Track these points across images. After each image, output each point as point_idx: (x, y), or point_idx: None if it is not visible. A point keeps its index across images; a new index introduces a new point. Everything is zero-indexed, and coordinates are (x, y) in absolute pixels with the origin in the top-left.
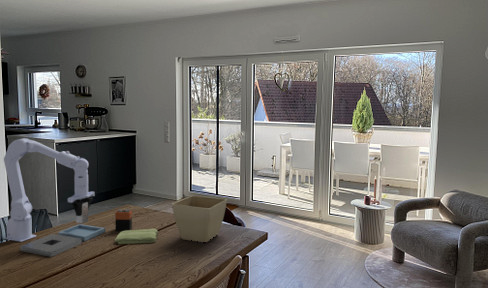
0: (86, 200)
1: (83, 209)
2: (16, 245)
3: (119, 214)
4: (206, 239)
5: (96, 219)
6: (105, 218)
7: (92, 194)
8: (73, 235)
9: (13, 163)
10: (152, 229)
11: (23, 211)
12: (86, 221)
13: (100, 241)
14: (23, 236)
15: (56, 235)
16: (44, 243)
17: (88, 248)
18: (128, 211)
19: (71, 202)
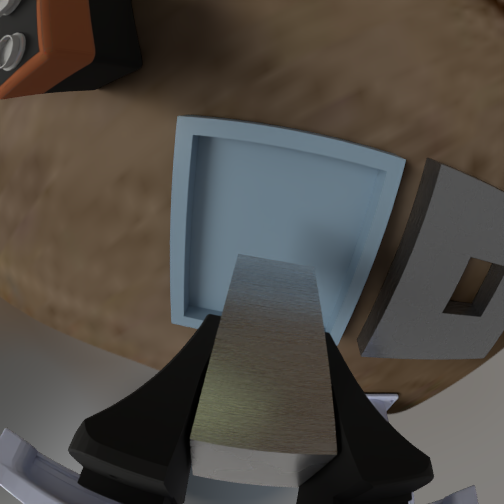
0: (179, 469)
1: (304, 371)
2: (425, 384)
3: (60, 19)
4: None
5: (53, 293)
6: (27, 262)
7: (26, 469)
8: (374, 253)
9: None
10: None
11: (413, 494)
12: (260, 259)
13: (375, 52)
14: (383, 409)
15: (386, 330)
16: (470, 312)
17: (480, 87)
18: None
19: (473, 486)
